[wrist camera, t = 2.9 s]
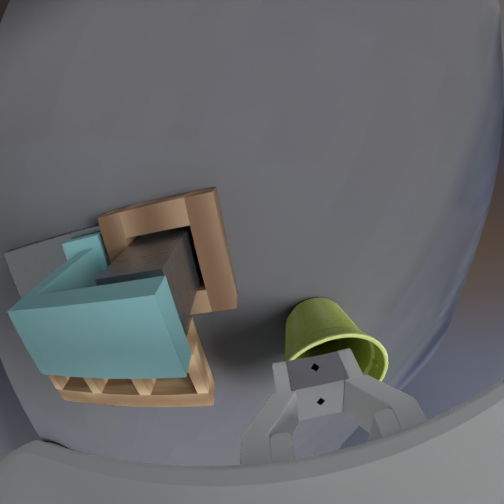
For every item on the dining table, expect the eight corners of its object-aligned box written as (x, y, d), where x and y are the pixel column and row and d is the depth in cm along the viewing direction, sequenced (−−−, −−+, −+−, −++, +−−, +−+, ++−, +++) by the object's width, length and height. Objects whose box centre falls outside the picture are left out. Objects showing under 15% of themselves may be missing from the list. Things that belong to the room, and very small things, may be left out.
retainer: (194, 211, 23) (147, 274, 11) (212, 287, 25) (192, 389, 14) (68, 240, 23) (-15, 299, 12) (91, 303, 26) (31, 381, 14)
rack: (41, 328, 28) (28, 343, 25) (192, 316, 28) (186, 337, 24) (73, 383, 32) (64, 399, 29) (215, 383, 31) (213, 405, 28)
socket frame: (216, 186, 23) (212, 191, 21) (237, 291, 27) (236, 308, 24) (6, 243, 24) (-9, 251, 22) (34, 315, 28) (22, 327, 25)
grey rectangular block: (144, 232, 25) (94, 279, 15) (192, 222, 25) (161, 268, 15) (157, 277, 26) (120, 340, 17) (203, 270, 26) (183, 335, 17)
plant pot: (281, 365, 30) (291, 425, 22) (256, 298, 27) (261, 358, 19) (360, 340, 30) (388, 393, 22) (348, 269, 26) (386, 317, 18)
